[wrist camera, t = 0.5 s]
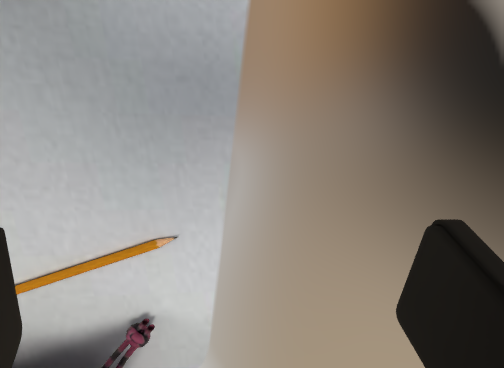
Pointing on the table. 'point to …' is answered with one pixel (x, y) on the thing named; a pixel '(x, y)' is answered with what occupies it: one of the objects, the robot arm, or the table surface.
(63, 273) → the pencil
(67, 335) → the table surface
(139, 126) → the table surface
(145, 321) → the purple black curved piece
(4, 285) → the robot arm
